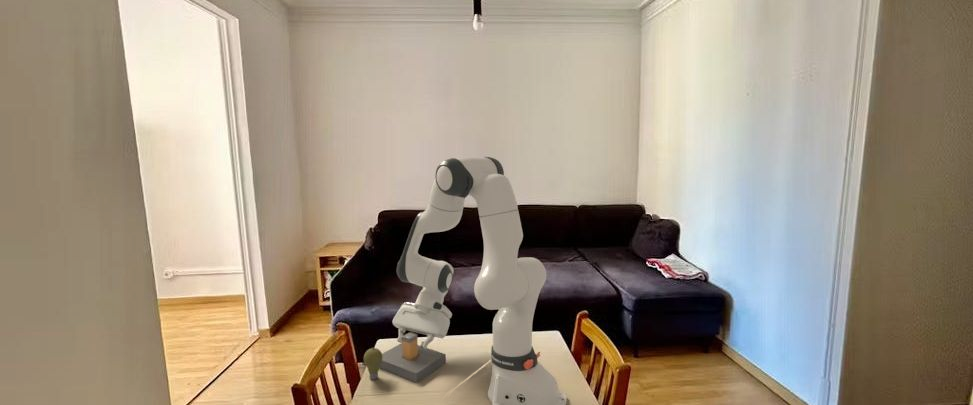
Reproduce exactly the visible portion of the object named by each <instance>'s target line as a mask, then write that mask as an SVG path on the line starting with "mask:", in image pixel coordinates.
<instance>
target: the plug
mask: <svg viewBox="0 0 973 405" xmlns="http://www.w3.org/2000/svg"><path fill="white" fill-rule="evenodd" d="M402 346H403V358H405V359H408V360H412V359H413V358H415V357H417V356H418V333H415V332H412V331H409V332H408V333H406V334H403V336H402Z"/></svg>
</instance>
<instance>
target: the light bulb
mask: <svg viewBox="0 0 973 405" xmlns="http://www.w3.org/2000/svg"><path fill="white" fill-rule="evenodd" d="M382 354H383V352H382V351H381V350H380V349H379V348H376V347H371V348H369V349H367V350H366V351H365V352H364V355H363V363H364V365H365V366H366V368H367V371H368V373H369V380H373V381H375V380H377V379H378V378H379V373H378V372H379V370H380V368H379V366H380V364H381V362H382Z"/></svg>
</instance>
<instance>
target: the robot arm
mask: <svg viewBox="0 0 973 405" xmlns="http://www.w3.org/2000/svg"><path fill="white" fill-rule="evenodd" d="M435 170H436V171H435V178H434V181H433V183H432V186H431V190H430V193H429V198H428V205H427V207H426V208H425V210H423V211H420V212H419V213H418V214H417V215H416V217H415V218H414V221H413V223H412V226H411V228H410V231H409V233H408V237H407V239H406V242H405V245H404V247H403V251H402V254H401V256H400V259H399V261H398V262H397V266H396V272H395V273H396V275H397V277H398V279H399V280H400V281H401V282H403V283H409V284H413V285H416V286H419V287H421V288H422V289H421V291H419V293H418V296H417V298H416V299H415V300H416V301H415V302H414V303H413V302H410V301H409V302H408V301H407V302H404V303H402V304H401V306H400V308H399V309H398V310H397V312H396V314H395V315H394V317H393V319H392V321H391V322H392V325H393V326H394V327H395V328H397V329H398V337H397V339H396V342H398V343H399V344H401V343H402V336H404V334H405V333H406V331H409V332H411V333H415V334H422V335H426V337H427V338H426V339H425V340H424V341H421V343H420V345H419V346H420V347H421V348H423V349H426V348H428V345H429V344H430V343H431V342H433V341H434V339H435V338H438V339H444V338H445V337H446V336H447V334H448V330H449V327H450V324H451V322H450V321H451V320H450V319H451V318H452V316H453V313H452V312H451V311H450V308H448V307H447V306H446V305H444V304H443V303H444V301H445V300H444V299H445V296H446V295H447V294H448V291H449V290H450V287H451V286H452V283H453V280H454V267H453V266H452V264H450V263H448V262H447V261H445V260H437V259H432V258H428V257H426V256H422V255H421V254H419V248H420V246H421V243H422V240H423V237H424V235H425V234H430V233H440V232H441V233H442V232H446V231H449V230H451V229H453V228H456V226H457V225H458V224H459V223H460V221H461V219H462V216H463V210H464V206H465V201H466V200H465V199H466V198H467V197H468V196H470V197H472V198H473V199H474V200H475V201H476V205H477V210H478V216H479V221H480V228H481V234H482V240H483V257H482V263H481V269H480V270H479V273H478V276H477V278H476V280H475V282H474V284H473V286H474V287H473V291H474V297H475V299H476V300H477V303H478V304H479V305H480V306H481V307H482V308H484V309H486V310H490V311H493V310H494V311H495V310H498V311H497V312H496V313H495V316H494V317H493V321H492V345H491V352H490V354H491V356H490V357H491V359H490V360H491V363H492V368H491V370H492V371H491V377H490V378H491V379H490V383H489V386H488V390H487V398H488V400H489V401H490V402H491V405H567V404H568V403H567V402H568V400H567V395H566V393H565V392H562V391H560V390H559V385H558V381H557V379H556V377H555V376H554V375H553V374H552V373H551V372H550V371H548V369H546V368H545V367H544V365H542V363H540V362H539V361H538V358H539V357H541V354H540V353H541V351H538V352H537V353H535V352H536V351H535V349H534V347H533V321H534V315H535V310H536V307H537V303H538V299H539V295H540V293H541V290H542V288H543V286H544V284H545V283H546V280H547V269H546V267H545V266H544V264H543V263H542V261H540V260H539V258H538V259H537V258H535V257H530V256H529V257H528V256H527V257H519V258H518V256H519V248H520V246H521V244H522V241H523V238H524V232H523V228H522V221H521V218H520V213H519V209H518V208H519V207H518V202H517V199H516V196H515V193H514V189H513V186H512V184H511V182H510V180H509V178H508V177H507V176H506V175H505V172H504V167H503V165H502V163H501V162H500V161H499V160H498V159H496V158H495V157H494V158H493V157H490V156H483V157H482V156H472V155H471V156H463V157H456V158H455V157H454V158H453V157H451V158H448V159H445V160H443V161H442V162H440V163H439V164H438V165H437V167H436V169H435Z"/></svg>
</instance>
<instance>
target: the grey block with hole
mask: <svg viewBox="0 0 973 405" xmlns="http://www.w3.org/2000/svg"><path fill="white" fill-rule="evenodd" d="M446 356H447V355H446V353H443V352H440V351H437V350H434V349H431V348H428V347H427V348H426V349H423V348H421V347H420V345H418V356H417V357H415V358H413V359H412V360H408V359H405V358H403V346H402V343H399V344H397V345H395V346H394V347H392V348H390V349H388V350H386V351H385V352H382V362H381V364H380V366H379V370H380V369H381V370H383V371H386V372H388V373H391V374H393V375H395V376H398V377H400V378H403V379H405V380H409V381H411V382H413V383H415V384H417V383H418V382H420V381H422V380H423V379H424V378H426V377H428V376H429V375H430V374H432V373H433V372H435V371H436V370H438V369H439V368H440V367H442V366H444V365H445V364H446V363H447V357H446Z"/></svg>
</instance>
